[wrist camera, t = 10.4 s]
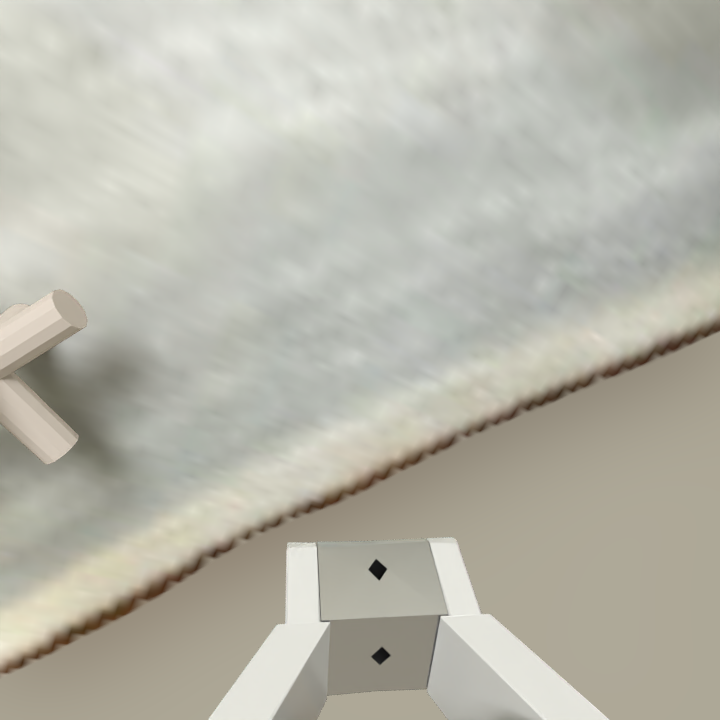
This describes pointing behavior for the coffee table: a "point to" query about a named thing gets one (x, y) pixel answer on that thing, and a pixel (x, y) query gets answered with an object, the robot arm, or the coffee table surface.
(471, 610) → the robot arm
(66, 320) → the pipe connector
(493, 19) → the coffee table surface
